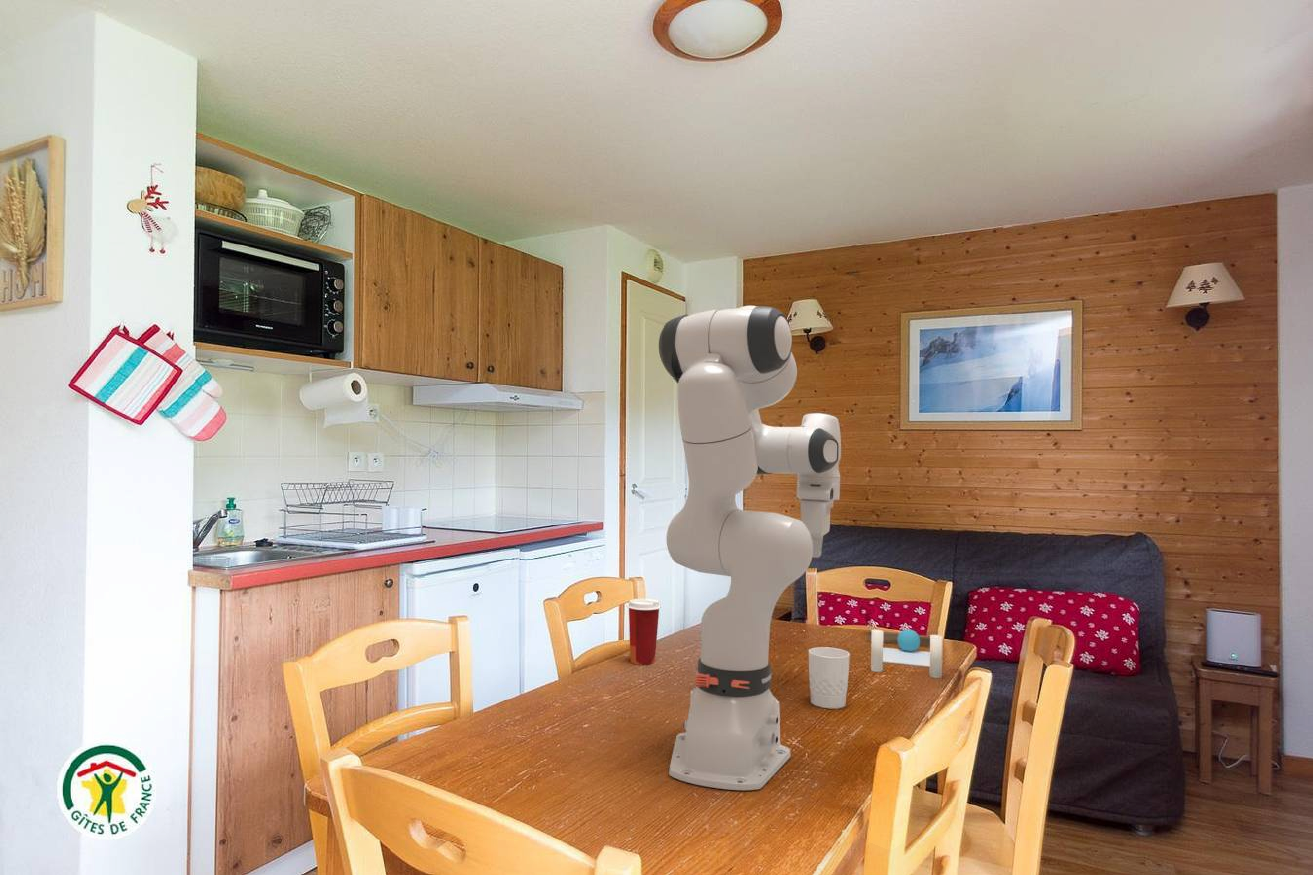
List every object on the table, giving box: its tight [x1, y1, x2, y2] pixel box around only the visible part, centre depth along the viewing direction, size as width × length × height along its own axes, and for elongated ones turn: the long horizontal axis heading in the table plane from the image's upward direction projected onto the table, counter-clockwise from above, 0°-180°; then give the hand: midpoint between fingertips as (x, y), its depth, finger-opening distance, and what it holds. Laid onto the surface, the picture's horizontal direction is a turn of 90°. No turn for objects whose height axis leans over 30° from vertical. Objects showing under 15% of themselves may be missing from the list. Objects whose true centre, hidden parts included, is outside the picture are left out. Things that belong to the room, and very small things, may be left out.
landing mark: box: [883, 647, 930, 668], centre depth 184 cm, size 14×14×1 cm
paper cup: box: [626, 597, 662, 666], centre depth 174 cm, size 8×8×14 cm
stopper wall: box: [867, 629, 930, 647], centre depth 198 cm, size 2×18×2 cm, turn 73°
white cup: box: [808, 646, 851, 710], centre depth 148 cm, size 8×8×10 cm
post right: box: [928, 634, 943, 679], centre depth 168 cm, size 3×3×9 cm
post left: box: [870, 628, 885, 673], centre depth 172 cm, size 3×3×9 cm
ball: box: [897, 628, 921, 652], centre depth 190 cm, size 6×6×6 cm
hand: (816, 556), depth 158 cm, fingers closed
